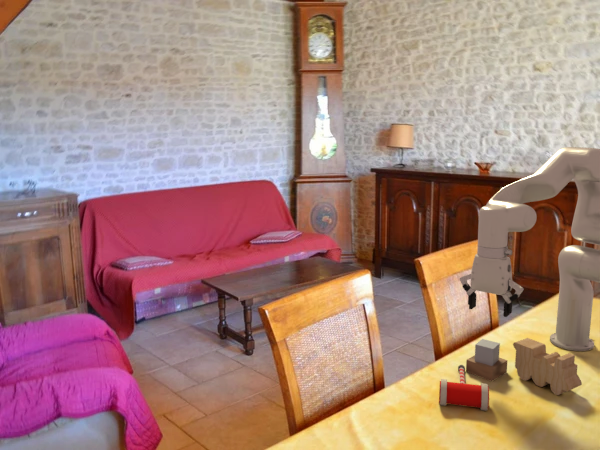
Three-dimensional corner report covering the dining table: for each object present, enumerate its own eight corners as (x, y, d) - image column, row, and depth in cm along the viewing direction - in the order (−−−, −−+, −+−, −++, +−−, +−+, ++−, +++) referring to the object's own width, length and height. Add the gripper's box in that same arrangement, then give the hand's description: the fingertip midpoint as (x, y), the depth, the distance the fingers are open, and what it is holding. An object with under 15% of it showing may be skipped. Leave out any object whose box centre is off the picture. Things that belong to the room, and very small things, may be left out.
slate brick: (481, 355, 156) (482, 338, 155) (498, 359, 152) (499, 343, 151) (474, 361, 152) (475, 344, 151) (492, 366, 149) (493, 349, 148)
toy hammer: (439, 369, 156) (440, 348, 155) (482, 373, 153) (483, 352, 152) (438, 409, 134) (439, 386, 133) (488, 415, 131) (489, 391, 130)
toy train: (568, 400, 137) (571, 363, 136) (510, 374, 152) (513, 341, 150) (580, 394, 140) (584, 358, 138) (523, 369, 155) (525, 336, 153)
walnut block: (481, 364, 159) (481, 351, 158) (506, 373, 153) (507, 360, 152) (465, 372, 154) (466, 359, 153) (491, 382, 148) (492, 369, 147)
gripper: (529, 253, 143) (526, 314, 146) (467, 244, 154) (465, 301, 157) (519, 259, 137) (516, 323, 141) (455, 249, 148) (453, 308, 152)
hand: (489, 311), depth 149 cm, fingers open, 9 cm apart
